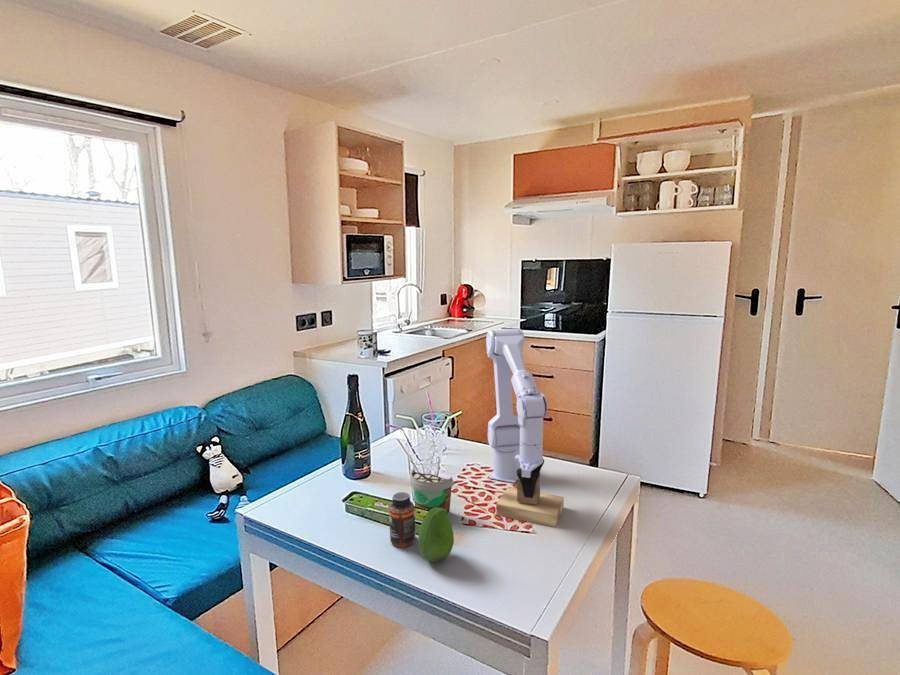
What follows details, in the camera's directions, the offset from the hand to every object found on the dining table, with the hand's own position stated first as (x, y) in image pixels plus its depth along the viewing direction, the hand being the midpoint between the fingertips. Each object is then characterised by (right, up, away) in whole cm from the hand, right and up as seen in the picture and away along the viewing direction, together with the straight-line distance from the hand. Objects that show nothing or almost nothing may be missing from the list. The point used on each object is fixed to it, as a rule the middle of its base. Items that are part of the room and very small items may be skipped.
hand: (530, 491), depth 126 cm
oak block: (0, -5, +1) cm, 5 cm away
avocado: (-24, -9, -18) cm, 31 cm away
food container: (-26, -6, +1) cm, 27 cm away
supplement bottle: (-32, -8, -11) cm, 34 cm away
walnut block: (0, -2, 0) cm, 2 cm away
